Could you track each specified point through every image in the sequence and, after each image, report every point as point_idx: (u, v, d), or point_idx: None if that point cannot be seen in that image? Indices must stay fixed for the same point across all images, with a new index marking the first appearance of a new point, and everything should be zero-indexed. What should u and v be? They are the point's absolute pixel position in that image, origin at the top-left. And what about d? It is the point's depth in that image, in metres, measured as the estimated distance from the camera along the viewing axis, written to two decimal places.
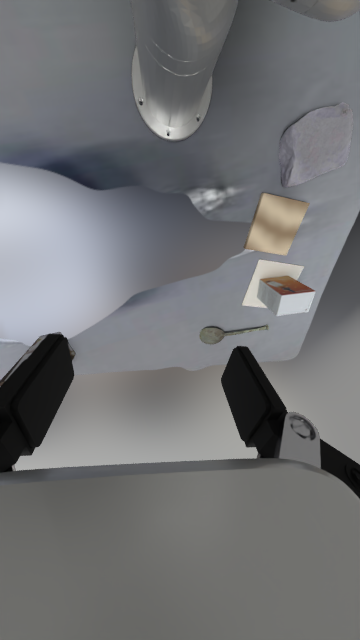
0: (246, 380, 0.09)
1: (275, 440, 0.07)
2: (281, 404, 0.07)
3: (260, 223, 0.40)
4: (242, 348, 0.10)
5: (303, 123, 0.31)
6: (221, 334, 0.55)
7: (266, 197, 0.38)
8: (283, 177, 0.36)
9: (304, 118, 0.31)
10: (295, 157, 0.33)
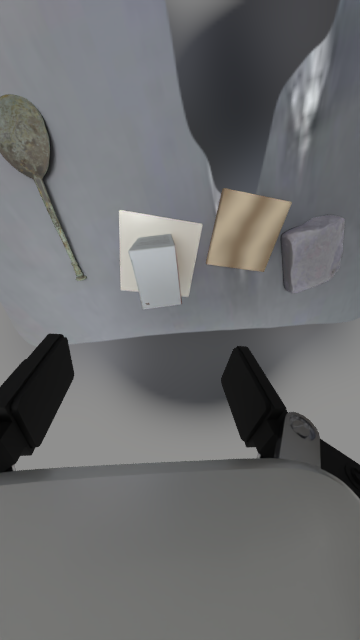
0: (246, 380, 0.09)
1: (275, 440, 0.07)
2: (281, 404, 0.07)
3: (255, 208, 0.28)
4: (242, 348, 0.10)
5: (341, 231, 0.30)
6: (35, 166, 0.23)
7: (285, 208, 0.28)
8: (294, 229, 0.30)
9: (343, 232, 0.30)
10: (321, 229, 0.28)
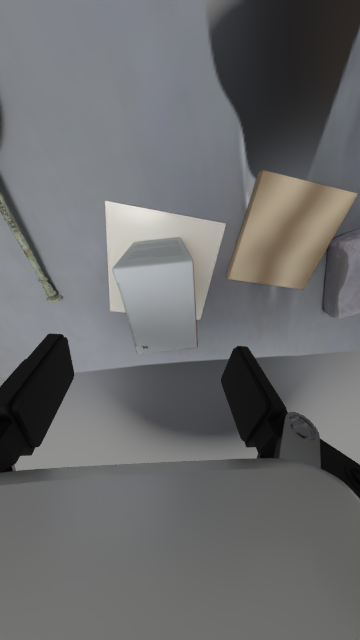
0: (246, 380, 0.09)
1: (275, 440, 0.07)
2: (281, 404, 0.07)
3: (304, 201, 0.19)
4: (242, 348, 0.10)
5: None
6: None
7: (347, 203, 0.20)
8: (350, 234, 0.21)
9: None
10: None
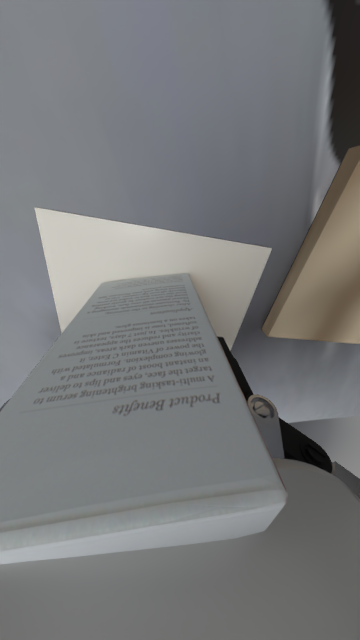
0: None
1: None
2: (245, 387, 0.08)
3: None
4: None
5: None
6: None
7: None
8: None
9: None
10: None
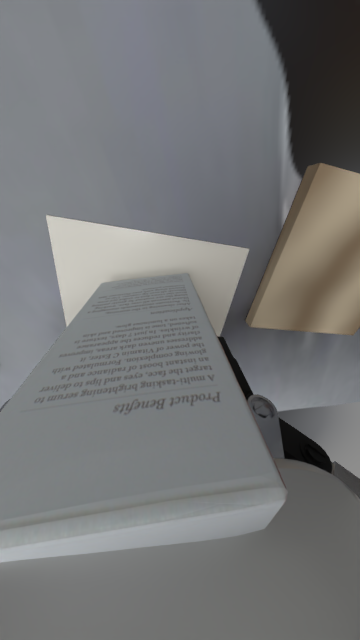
0: None
1: None
2: (245, 387, 0.08)
3: None
4: None
5: None
6: None
7: None
8: None
9: None
10: None
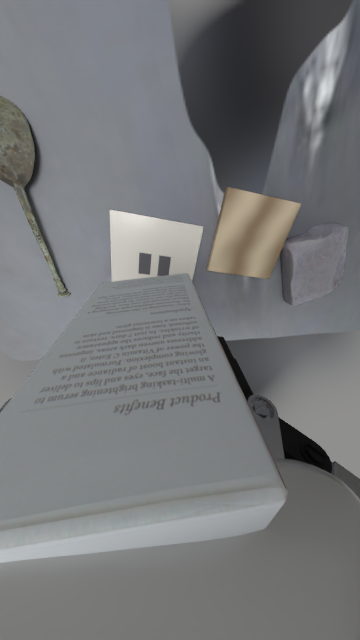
0: None
1: None
2: (245, 387, 0.08)
3: (261, 209, 0.25)
4: None
5: (344, 241, 0.28)
6: (16, 174, 0.20)
7: (294, 210, 0.26)
8: (294, 238, 0.28)
9: (346, 241, 0.28)
10: (324, 238, 0.26)
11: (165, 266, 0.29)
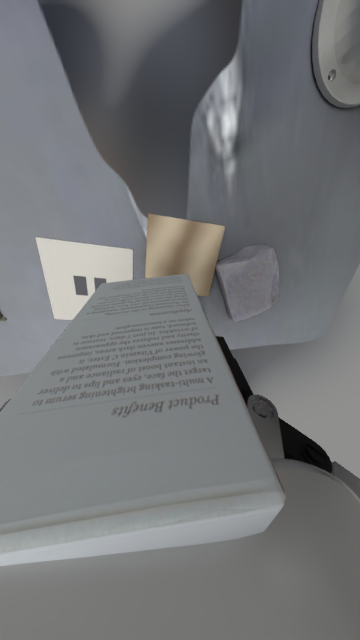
0: None
1: None
2: (245, 387, 0.08)
3: (186, 233, 0.26)
4: (217, 338, 0.11)
5: (273, 261, 0.28)
6: None
7: (219, 232, 0.27)
8: (225, 260, 0.29)
9: (275, 261, 0.29)
10: (249, 261, 0.27)
11: None
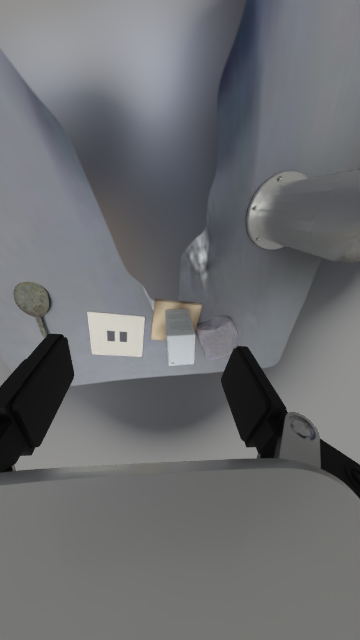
0: (246, 380, 0.09)
1: (275, 440, 0.07)
2: (281, 404, 0.07)
3: None
4: (242, 348, 0.10)
5: (231, 328, 0.45)
6: (37, 314, 0.39)
7: (198, 308, 0.43)
8: (202, 325, 0.45)
9: (233, 327, 0.46)
10: (215, 330, 0.43)
11: (124, 336, 0.46)
